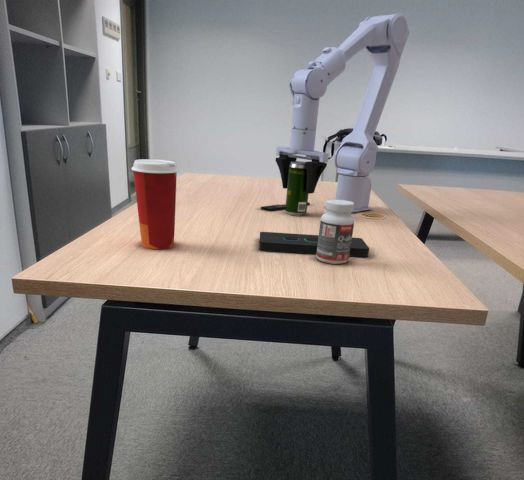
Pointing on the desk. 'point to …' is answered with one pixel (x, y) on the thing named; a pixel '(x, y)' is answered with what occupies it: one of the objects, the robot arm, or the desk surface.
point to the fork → (276, 207)
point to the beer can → (296, 189)
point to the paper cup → (156, 201)
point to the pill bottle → (335, 232)
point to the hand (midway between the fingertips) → (298, 190)
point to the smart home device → (304, 244)
